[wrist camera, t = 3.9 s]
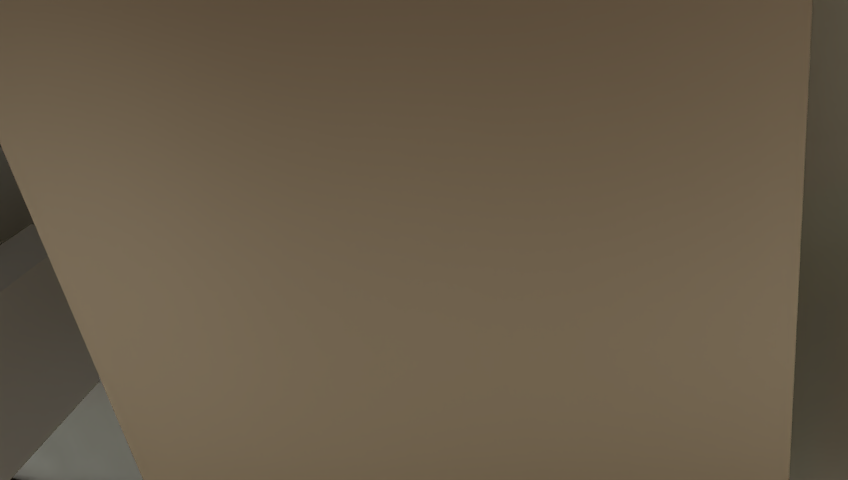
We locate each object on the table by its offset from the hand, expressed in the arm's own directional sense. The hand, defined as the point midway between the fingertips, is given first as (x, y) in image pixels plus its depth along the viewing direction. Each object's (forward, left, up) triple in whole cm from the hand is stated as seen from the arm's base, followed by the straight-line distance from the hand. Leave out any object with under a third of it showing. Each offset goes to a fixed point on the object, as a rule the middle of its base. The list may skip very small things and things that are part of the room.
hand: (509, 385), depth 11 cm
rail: (0, 0, 0) cm, 0 cm away
